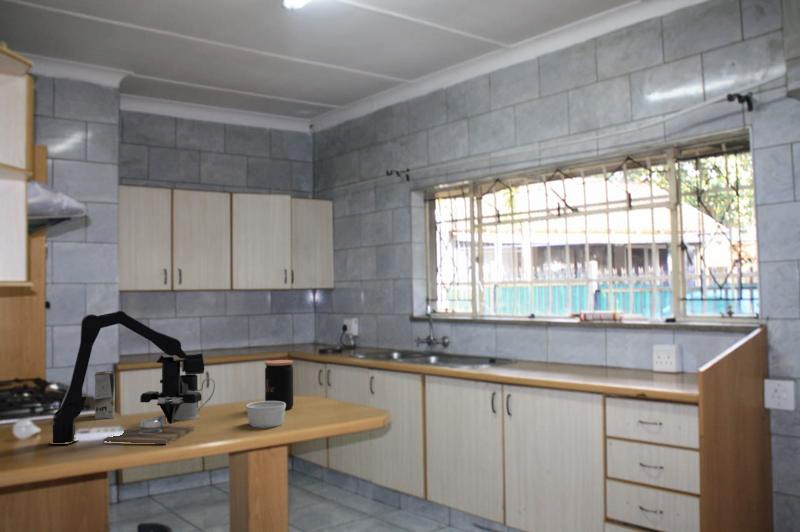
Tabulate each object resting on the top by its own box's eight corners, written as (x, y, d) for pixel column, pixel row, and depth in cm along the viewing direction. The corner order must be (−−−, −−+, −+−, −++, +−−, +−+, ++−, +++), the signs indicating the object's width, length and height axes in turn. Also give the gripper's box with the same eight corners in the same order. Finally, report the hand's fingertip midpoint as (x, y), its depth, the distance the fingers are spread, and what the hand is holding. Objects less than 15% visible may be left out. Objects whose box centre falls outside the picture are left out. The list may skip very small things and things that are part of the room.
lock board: (165, 445, 207) (165, 439, 207) (103, 443, 209) (103, 438, 209) (194, 430, 226) (194, 425, 226) (136, 429, 229) (136, 424, 229)
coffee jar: (263, 407, 267) (263, 360, 267) (291, 405, 270) (290, 359, 270) (266, 412, 256) (266, 363, 257) (295, 410, 260) (295, 362, 260)
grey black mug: (173, 416, 250) (172, 375, 250) (213, 413, 255) (212, 372, 256) (175, 421, 242) (175, 378, 242) (216, 417, 247) (216, 375, 247)
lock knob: (155, 432, 214) (154, 422, 215) (136, 432, 215) (136, 421, 215) (173, 424, 227) (173, 414, 227) (155, 424, 228) (155, 414, 228)
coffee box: (114, 418, 249) (113, 373, 249) (94, 419, 246) (94, 374, 247) (114, 413, 257) (114, 370, 257) (96, 414, 255) (96, 371, 255)
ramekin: (255, 430, 226) (254, 409, 226) (240, 423, 237) (240, 403, 237) (292, 425, 233) (292, 404, 233) (276, 419, 244) (276, 399, 244)
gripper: (208, 372, 232) (208, 419, 232) (155, 372, 234) (155, 418, 234) (194, 377, 221) (194, 426, 221) (139, 376, 223) (139, 425, 223)
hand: (171, 423), depth 225 cm, fingers closed
